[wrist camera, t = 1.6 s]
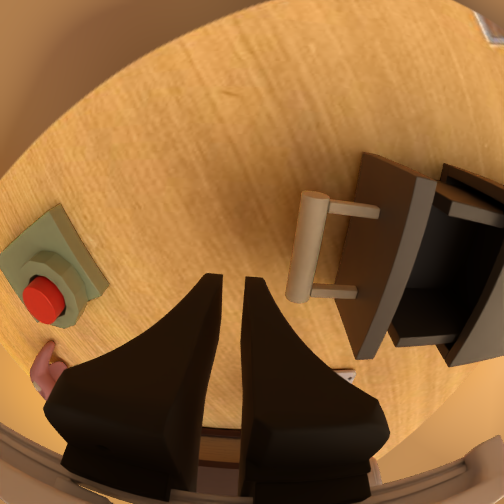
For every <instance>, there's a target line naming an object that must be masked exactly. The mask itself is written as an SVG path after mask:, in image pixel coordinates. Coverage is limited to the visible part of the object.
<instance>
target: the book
mask: <svg viewBox="0 0 504 504" xmlns="http://www.w3.org/2000/svg"><path fill="white" fill-rule="evenodd" d="M240 442H241V431H239V430H222V429H210V428H202V431H201V440H200V451H199V462H198V475H197V490H196V493H202V494H211V495H221V496H235V497H237V492H238V476H239V459H240Z"/></svg>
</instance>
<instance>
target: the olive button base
mask: <svg viewBox="0 0 504 504" xmlns="http://www.w3.org/2000/svg"><path fill="white" fill-rule="evenodd" d="M0 269H1V271H2V272H3V274H4V275H5V277H6V279H7V280H8V282H9V283H10V285H11V286H12V288H13V290H14V291H15V293H16V294H17V295H18V297H19V298H20V300H21V301H22V303H23V304H24V305H25V303H24V301H23V291H24V289H25V288H26V287H27V286H28V285H29V284H30V283H31V282H32V281H33V280H34V279H35V278H36V277H37V276H45V277H46V278H48V279H49V280H50V281H52V282H53V283H54V284H55V285H56V286H57V287H58V289H59V290H60V292H61V293H62V295H63V296H64V300H65V307H64V309H63V311H62V312H61V313H60V315H59V316H58V317H57V319H56V320H55V321H54V322H53V323H52V324H50V325H53V326H56V327H60V328H63V329H65V328H68V327H70V326H73V325H75V324H76V322H77V321H78V320H79V318H80V317H81V315H82V314H83V312H84V310H85V307H86V304H87V302H88V301H90V300H92V299H95V298H97V297H100V296H102V294H103V293H104V291H105V290H106V289H107V287H108V286H109V283H108V282H107V280H106V279H105V277H104V276H103V274H102V273H101V271H100V270H99V268H98V267H97V265H96V264H95V262H94V261H93V259H92V257H91V256H90V254H89V253H88V251H87V249H86V248H85V246H84V244H83V243H82V241H81V239H80V238H79V236H78V234H77V233H76V231H75V229H74V227H73V226H72V224H71V222H70V220H69V219H68V217H67V215H66V213H65V211H64V209H63V208H62V206H61V204H58V205H57V206H55V207H53V208H52V209H50V210H49V211H47V212H46V213H45V214H44V215H42V216H41V217H40V218H39V219H38V220H36V221H35V222H34V223H33V224H32V225H31V226H29V227H28V228H27V229H26V230H25V231H24V232H23V233H22V234H20V235H19V236H18V237H17V238H16V239H15V240H14V241H13V242H12V243H11V244H10V245H9V246H8V247H7V248H5V249H4V250H3V251H2V252H1V253H0ZM25 307H26V306H25ZM26 308H27V307H26ZM27 310H28V309H27ZM30 314H31V313H30ZM31 315H32V314H31ZM32 316H33V315H32ZM33 318H34V319H35V320H36V322H37V323H38V322H40V321H38V320H37V319H36V318H35V317H34V316H33Z"/></svg>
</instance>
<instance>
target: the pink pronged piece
mask: <svg viewBox="0 0 504 504" xmlns="http://www.w3.org/2000/svg"><path fill="white" fill-rule="evenodd" d="M54 346H55V343H54V342H53V341H49V342H48V343H46V344H45V345H44V347H43V348H42V349H41V351H40V352H39V353H38V355H37V356H36V358H35V360H34V363H33V365H32V367H31V370H30V377H31V381H32V383H33V385H34V387H35V388H36V390H37V391H38V392H39V393H40V394H41V396H42V397H43V398H44V399H45V400H46V401H47V399H48V397H49V395H50V393H51V391H52V389H53V387H54V385H55V383H56V381H57V380H58V378H59V377H60V375H61V373H62V372H63V370H64V369H67V367H66V365H65V364H64V363H63V362H60V361H56V362H54V363H52V364H49V360H50V358H51V355H52V353H53V350H54Z"/></svg>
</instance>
